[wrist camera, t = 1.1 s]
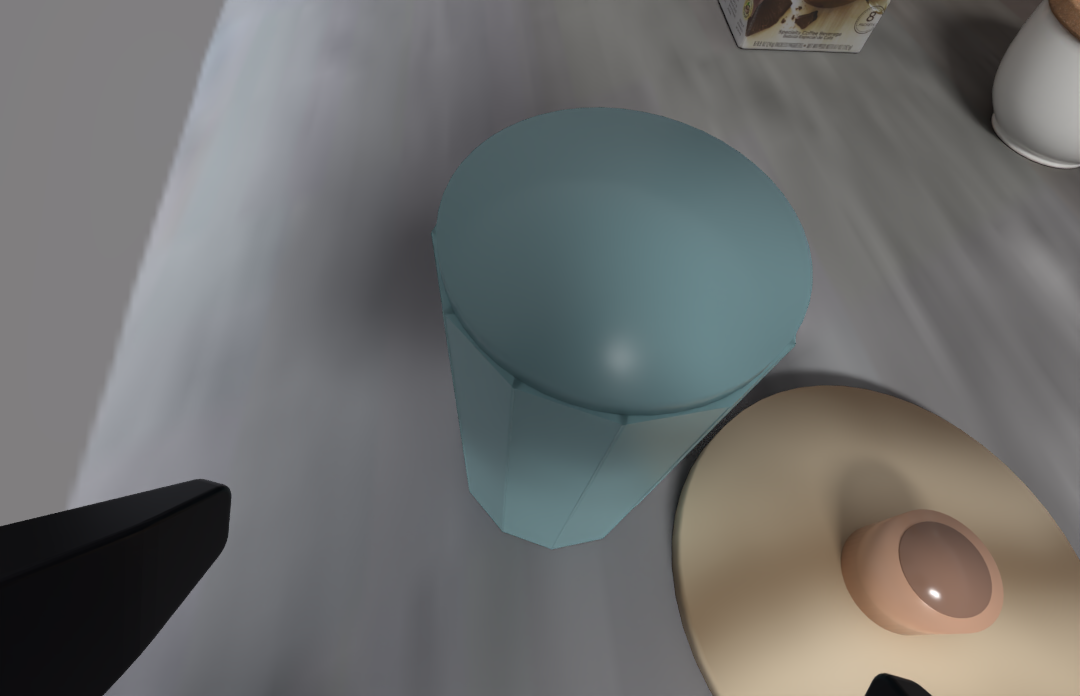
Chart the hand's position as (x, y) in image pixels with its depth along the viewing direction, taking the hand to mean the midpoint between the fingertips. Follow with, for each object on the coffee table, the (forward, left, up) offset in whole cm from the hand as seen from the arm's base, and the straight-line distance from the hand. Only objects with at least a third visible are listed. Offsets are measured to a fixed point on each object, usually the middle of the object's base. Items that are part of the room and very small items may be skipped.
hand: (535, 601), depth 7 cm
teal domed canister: (+6, -3, -13) cm, 14 cm away
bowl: (-1, -13, -11) cm, 18 cm away
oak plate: (-1, -13, -13) cm, 18 cm away
